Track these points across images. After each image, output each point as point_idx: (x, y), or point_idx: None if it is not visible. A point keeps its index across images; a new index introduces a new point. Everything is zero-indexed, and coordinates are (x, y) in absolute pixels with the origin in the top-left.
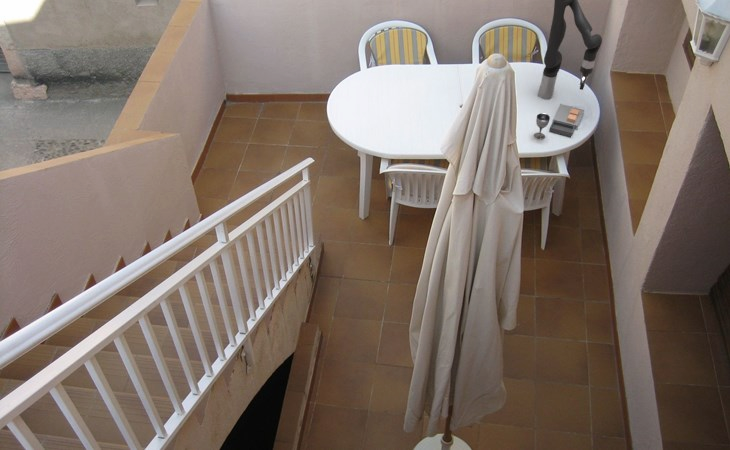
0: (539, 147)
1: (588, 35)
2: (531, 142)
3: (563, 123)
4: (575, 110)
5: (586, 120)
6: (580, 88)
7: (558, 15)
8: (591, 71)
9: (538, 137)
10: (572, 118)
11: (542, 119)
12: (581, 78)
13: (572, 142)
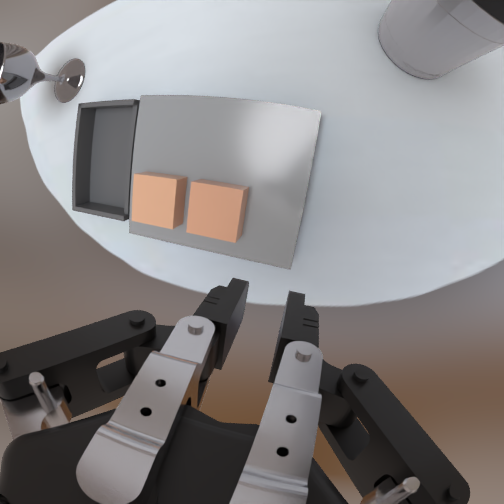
0: (28, 107)
1: None
2: None
3: (129, 157)
4: (224, 216)
5: (230, 274)
6: (210, 294)
7: None
8: None
9: (57, 82)
10: (139, 203)
11: (28, 64)
12: (122, 406)
13: (69, 214)
